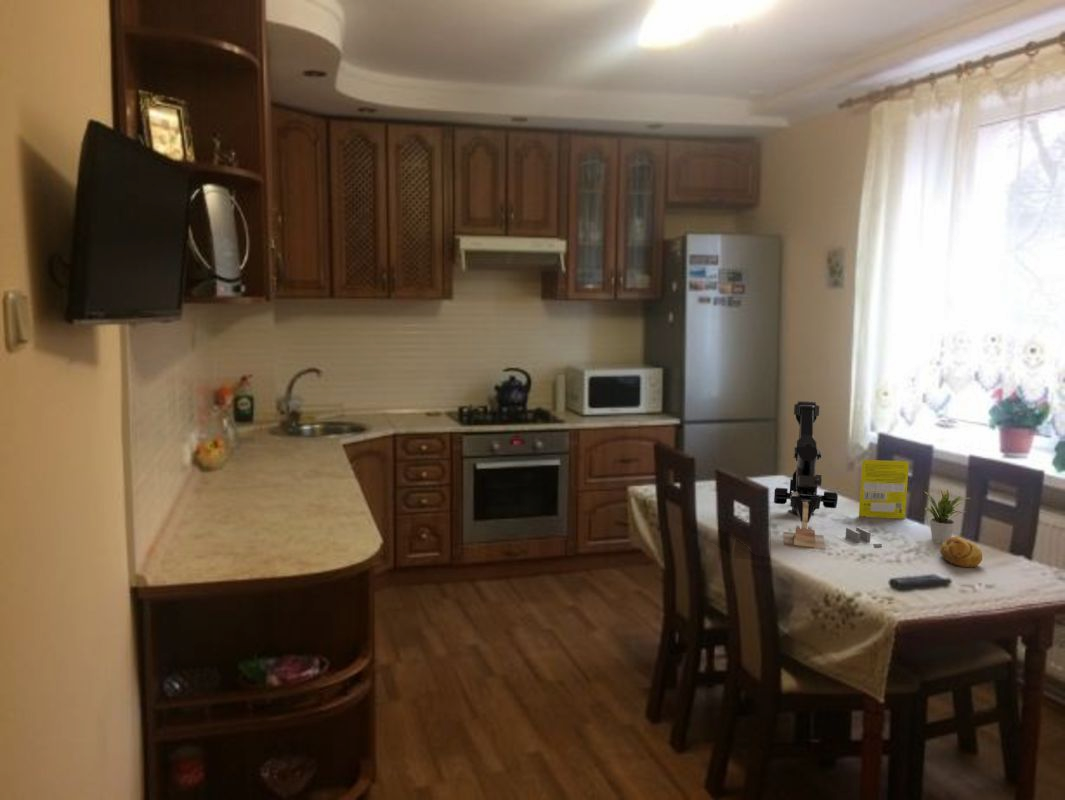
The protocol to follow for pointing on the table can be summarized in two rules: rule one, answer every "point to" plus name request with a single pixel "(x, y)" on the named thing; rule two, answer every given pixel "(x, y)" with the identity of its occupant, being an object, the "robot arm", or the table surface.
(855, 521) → the table surface
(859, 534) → the slate stand
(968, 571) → the table surface
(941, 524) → the house plant
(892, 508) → the food package
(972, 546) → the bread roll
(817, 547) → the offcut rack
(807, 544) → the lower offcut
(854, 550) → the table surface
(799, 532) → the upper offcut
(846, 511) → the table surface
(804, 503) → the tan wooden block
